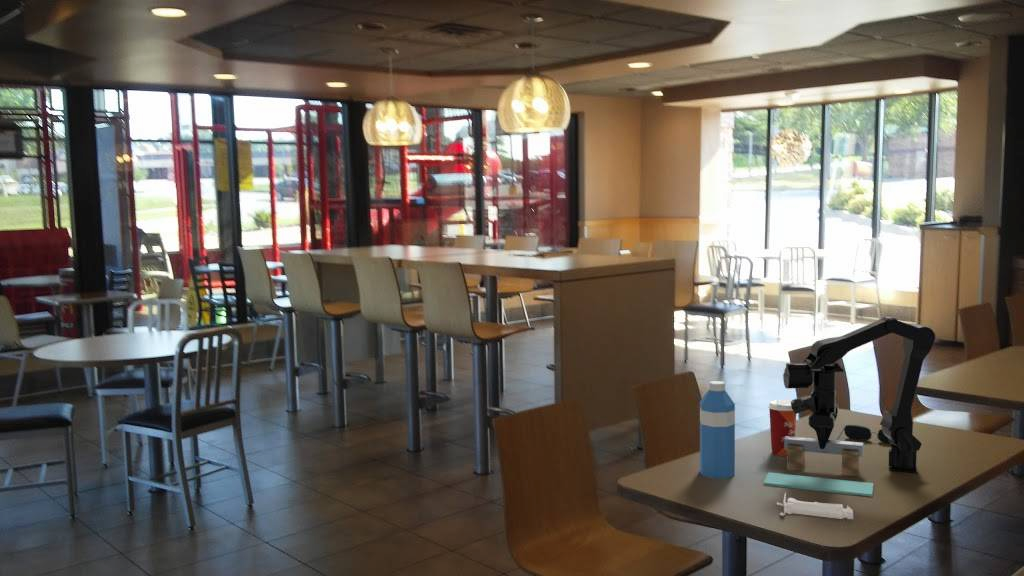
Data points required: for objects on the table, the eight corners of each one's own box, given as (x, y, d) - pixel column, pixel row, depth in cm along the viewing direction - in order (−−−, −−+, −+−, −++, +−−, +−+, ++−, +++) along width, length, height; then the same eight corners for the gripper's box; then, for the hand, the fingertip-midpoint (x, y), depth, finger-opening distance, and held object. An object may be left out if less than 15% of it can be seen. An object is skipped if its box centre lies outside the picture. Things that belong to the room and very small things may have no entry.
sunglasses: (905, 446, 258) (905, 430, 257) (897, 465, 246) (897, 449, 245) (844, 438, 267) (844, 423, 266) (834, 457, 255) (833, 441, 254)
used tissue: (778, 503, 213) (778, 488, 213) (856, 516, 203) (856, 499, 203) (766, 517, 204) (766, 500, 204) (847, 530, 194) (847, 513, 194)
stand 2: (858, 469, 236) (859, 446, 235) (857, 476, 230) (858, 452, 230) (843, 468, 237) (843, 444, 237) (841, 474, 232) (842, 450, 231)
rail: (862, 453, 233) (863, 442, 233) (862, 456, 231) (862, 445, 230) (785, 446, 242) (785, 436, 241) (784, 449, 239) (784, 438, 239)
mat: (873, 485, 223) (873, 483, 223) (872, 496, 215) (872, 494, 215) (768, 474, 233) (768, 472, 233) (763, 484, 225) (763, 482, 225)
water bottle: (737, 470, 238) (738, 380, 235) (731, 480, 229) (731, 387, 227) (703, 466, 242) (703, 378, 239) (696, 476, 233) (695, 384, 231)
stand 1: (804, 464, 242) (804, 441, 241) (802, 470, 236) (802, 447, 235) (789, 462, 243) (789, 440, 242) (787, 469, 238) (787, 445, 237)
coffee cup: (791, 459, 247) (792, 407, 245) (763, 454, 252) (763, 403, 250) (801, 451, 253) (802, 401, 252) (774, 447, 258) (774, 398, 257)
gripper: (796, 379, 246) (796, 433, 248) (788, 393, 229) (788, 450, 231) (838, 381, 242) (838, 436, 243) (833, 396, 225) (833, 454, 226)
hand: (823, 444), depth 236 cm, fingers open, 9 cm apart
